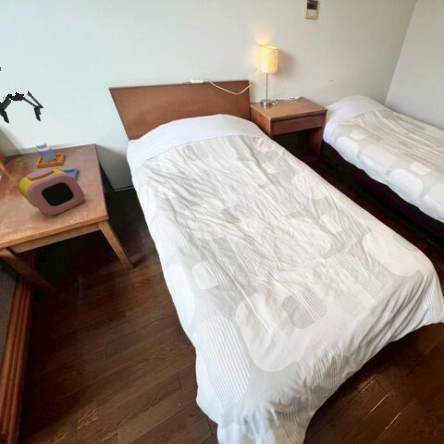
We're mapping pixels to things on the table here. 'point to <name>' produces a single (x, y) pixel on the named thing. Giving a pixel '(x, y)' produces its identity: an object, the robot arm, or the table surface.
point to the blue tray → (72, 172)
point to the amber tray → (60, 160)
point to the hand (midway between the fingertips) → (23, 121)
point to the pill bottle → (46, 152)
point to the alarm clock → (51, 190)
